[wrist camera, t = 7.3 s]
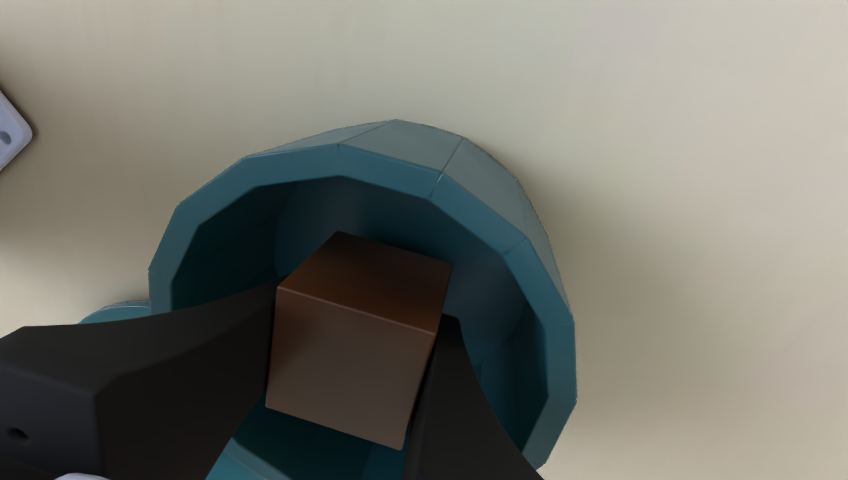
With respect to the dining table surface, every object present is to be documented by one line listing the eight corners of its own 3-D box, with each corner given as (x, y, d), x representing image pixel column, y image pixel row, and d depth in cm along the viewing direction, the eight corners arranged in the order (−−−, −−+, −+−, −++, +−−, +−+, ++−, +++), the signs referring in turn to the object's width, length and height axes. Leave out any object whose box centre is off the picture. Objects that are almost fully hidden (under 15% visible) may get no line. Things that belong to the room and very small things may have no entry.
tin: (364, 415, 19) (311, 549, 14) (211, 214, 17) (70, 281, 11) (599, 328, 16) (654, 464, 10) (449, 52, 13) (414, 31, 7)
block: (321, 327, 15) (263, 407, 11) (336, 229, 13) (276, 286, 10) (425, 359, 15) (401, 452, 11) (454, 263, 13) (436, 334, 9)
